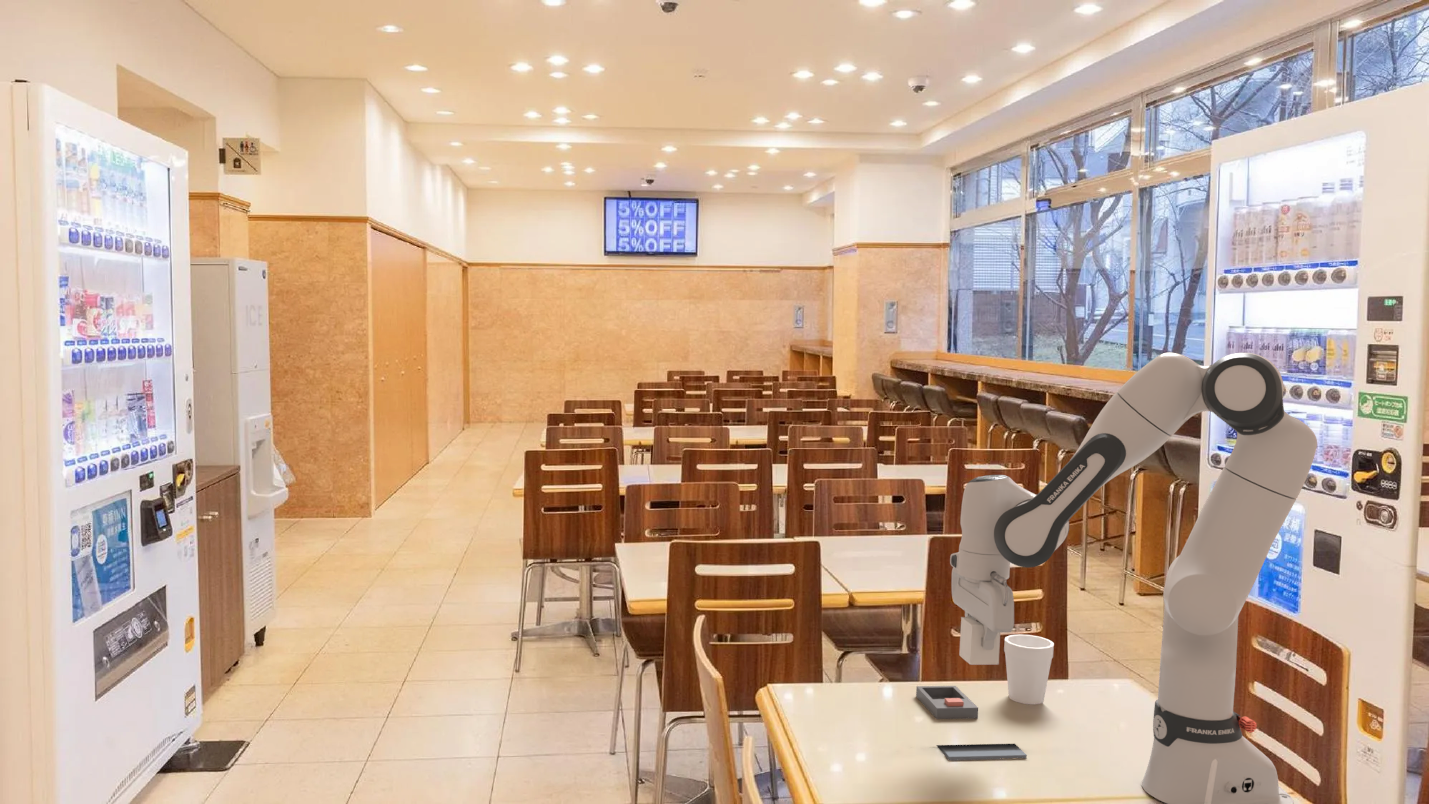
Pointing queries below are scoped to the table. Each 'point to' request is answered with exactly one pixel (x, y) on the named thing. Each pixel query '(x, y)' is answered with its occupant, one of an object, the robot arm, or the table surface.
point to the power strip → (940, 707)
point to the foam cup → (1027, 667)
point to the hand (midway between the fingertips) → (979, 642)
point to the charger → (976, 643)
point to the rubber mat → (981, 751)
